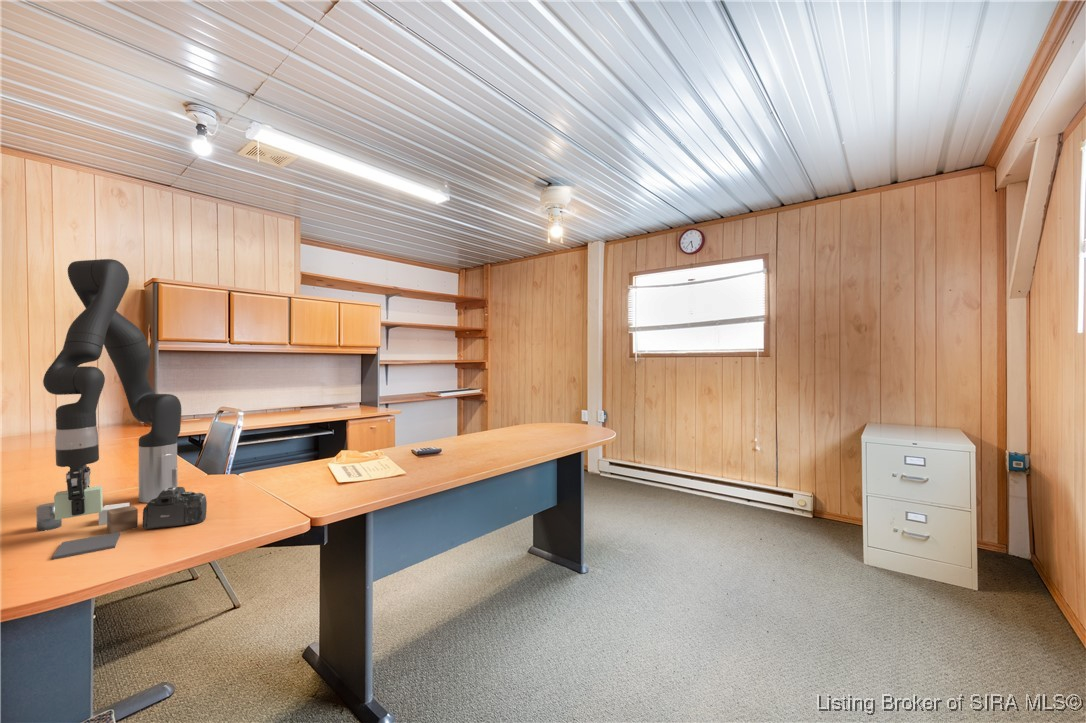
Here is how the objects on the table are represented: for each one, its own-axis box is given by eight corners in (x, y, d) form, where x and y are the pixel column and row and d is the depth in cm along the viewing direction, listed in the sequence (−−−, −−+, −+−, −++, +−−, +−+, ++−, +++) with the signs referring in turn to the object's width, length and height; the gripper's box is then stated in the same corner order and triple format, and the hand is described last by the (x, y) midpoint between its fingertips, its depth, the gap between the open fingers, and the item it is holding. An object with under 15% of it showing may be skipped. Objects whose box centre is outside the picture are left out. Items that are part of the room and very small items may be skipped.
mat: (120, 534, 112) (120, 531, 112) (114, 547, 104) (114, 545, 104) (62, 544, 105) (62, 541, 105) (52, 559, 98) (52, 556, 98)
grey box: (129, 516, 124) (129, 502, 124) (123, 522, 120) (123, 507, 120) (105, 519, 122) (105, 505, 122) (98, 525, 117) (98, 510, 117)
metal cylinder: (63, 523, 119) (63, 501, 118) (59, 528, 115) (59, 505, 115) (39, 527, 116) (38, 504, 116) (34, 532, 112) (34, 509, 112)
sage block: (102, 507, 116) (102, 485, 116) (100, 512, 113) (100, 489, 113) (58, 515, 111) (57, 491, 111) (54, 520, 108) (54, 496, 108)
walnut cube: (132, 523, 119) (132, 505, 119) (137, 527, 116) (137, 509, 116) (107, 529, 115) (107, 510, 115) (111, 533, 112) (111, 514, 112)
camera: (204, 513, 127) (204, 478, 127) (208, 522, 120) (208, 486, 120) (141, 524, 118) (141, 487, 118) (142, 535, 111) (142, 496, 111)
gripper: (94, 447, 108) (97, 516, 109) (101, 438, 119) (103, 500, 120) (49, 452, 103) (52, 524, 104) (61, 442, 114) (63, 507, 115)
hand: (79, 511), depth 112 cm, fingers closed on sage block, 4 cm apart
